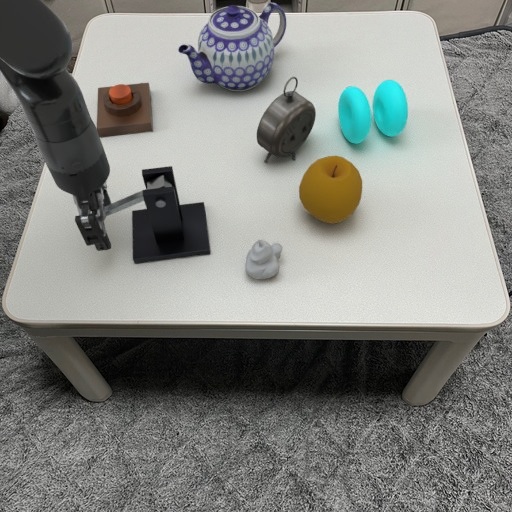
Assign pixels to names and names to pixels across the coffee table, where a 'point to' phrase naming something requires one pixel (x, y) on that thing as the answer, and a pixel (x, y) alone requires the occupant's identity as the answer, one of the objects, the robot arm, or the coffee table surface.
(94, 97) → the coffee table surface
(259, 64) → the teapot
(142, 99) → the switch
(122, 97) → the button
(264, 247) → the grey swirled lump
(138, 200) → the t-handle lever
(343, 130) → the donuts
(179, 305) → the coffee table surface
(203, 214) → the lever base
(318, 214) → the apple
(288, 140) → the alarm clock
